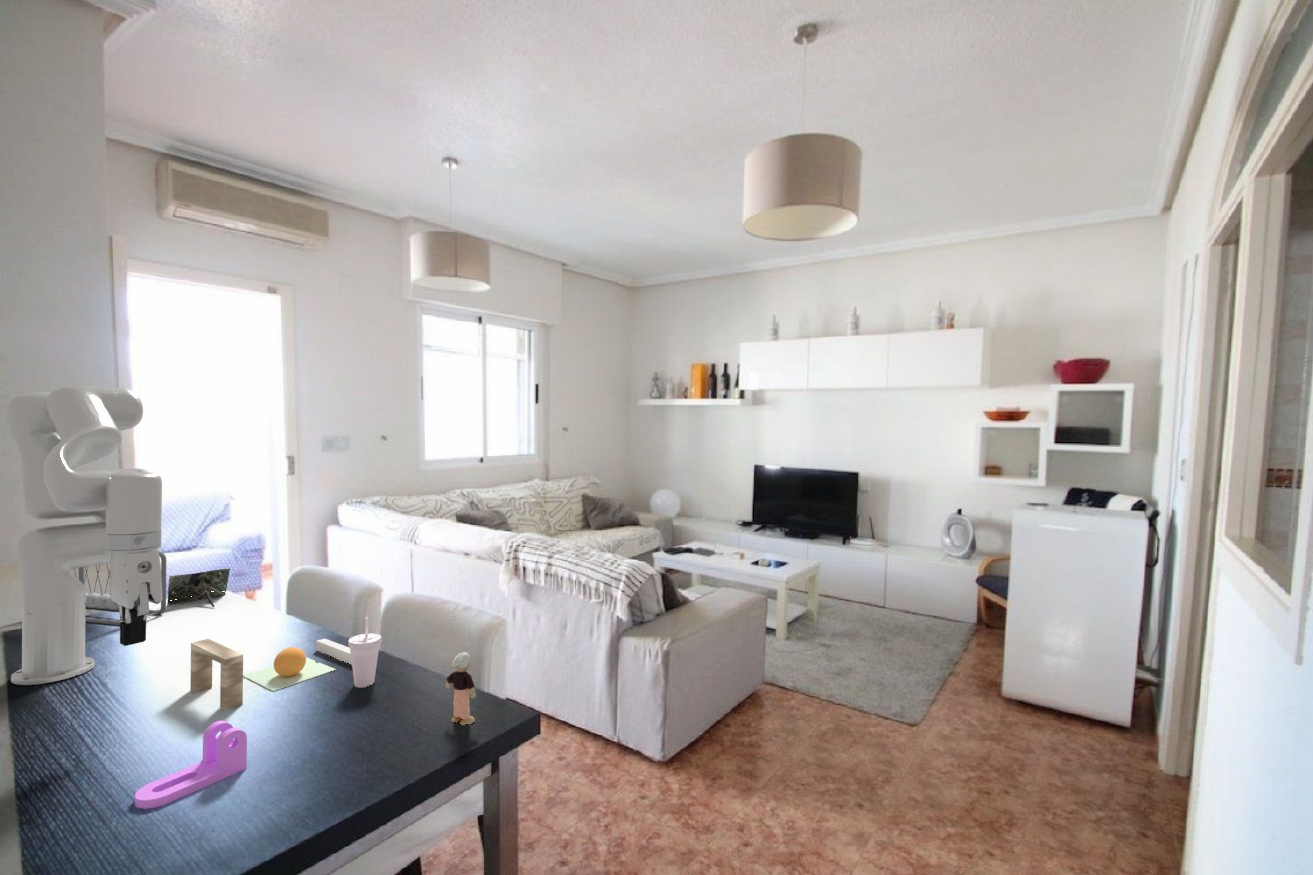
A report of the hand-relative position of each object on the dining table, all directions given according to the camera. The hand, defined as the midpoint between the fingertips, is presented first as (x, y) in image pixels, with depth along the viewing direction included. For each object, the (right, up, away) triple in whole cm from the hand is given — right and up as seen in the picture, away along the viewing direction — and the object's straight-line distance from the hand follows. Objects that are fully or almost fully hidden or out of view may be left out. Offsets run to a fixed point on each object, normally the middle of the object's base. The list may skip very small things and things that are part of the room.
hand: (132, 642), depth 107 cm
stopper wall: (+20, -15, +33) cm, 41 cm away
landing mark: (+14, -15, +23) cm, 31 cm away
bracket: (+23, -16, -17) cm, 33 cm away
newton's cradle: (-59, -13, +57) cm, 83 cm away
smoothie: (+32, -15, +19) cm, 41 cm away
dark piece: (-45, -8, +73) cm, 86 cm away
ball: (+15, -12, +22) cm, 29 cm away
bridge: (+7, -15, +11) cm, 20 cm away
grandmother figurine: (+58, -16, +4) cm, 60 cm away
